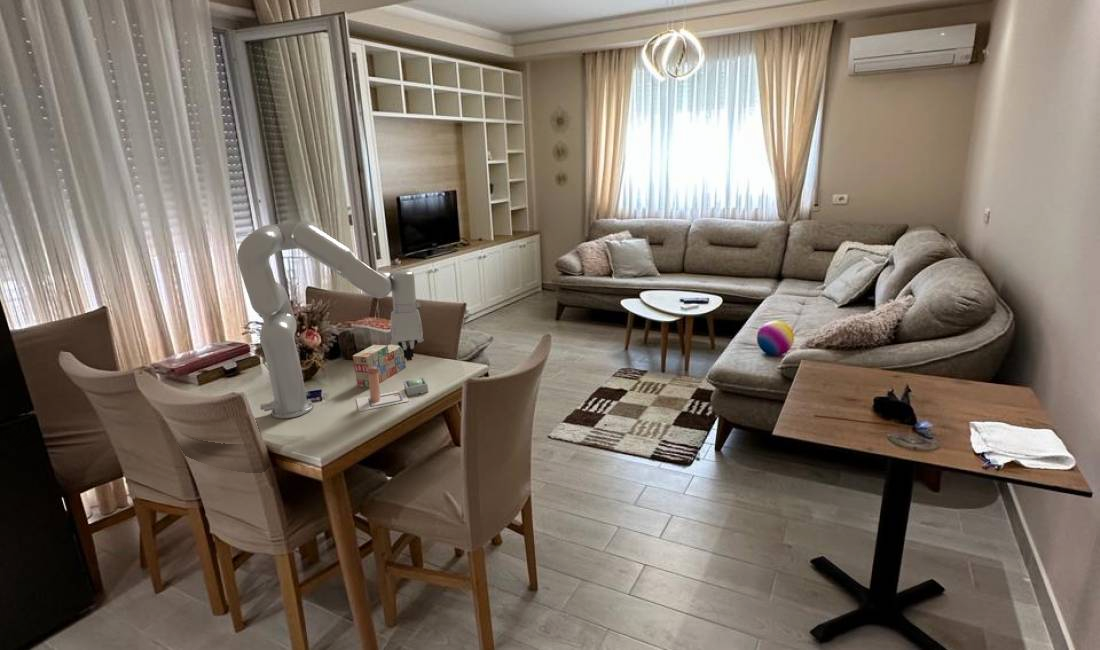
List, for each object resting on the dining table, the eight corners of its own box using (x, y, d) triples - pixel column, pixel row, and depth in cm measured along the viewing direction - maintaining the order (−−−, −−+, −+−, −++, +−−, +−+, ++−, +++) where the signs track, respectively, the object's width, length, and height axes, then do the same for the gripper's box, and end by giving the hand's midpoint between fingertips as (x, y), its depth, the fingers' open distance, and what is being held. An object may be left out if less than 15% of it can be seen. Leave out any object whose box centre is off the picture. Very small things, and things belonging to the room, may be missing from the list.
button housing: (407, 396, 196) (406, 387, 195) (404, 389, 202) (403, 381, 202) (428, 392, 199) (427, 384, 198) (424, 385, 205) (423, 377, 204)
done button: (410, 392, 197) (409, 384, 197) (408, 388, 202) (407, 380, 201) (424, 390, 199) (423, 382, 198) (421, 385, 203) (420, 377, 203)
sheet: (358, 411, 186) (358, 410, 186) (356, 399, 196) (356, 398, 196) (408, 401, 192) (408, 400, 191) (403, 390, 201) (403, 389, 201)
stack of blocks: (392, 366, 226) (388, 336, 223) (406, 367, 224) (402, 337, 220) (357, 387, 207) (352, 355, 204) (371, 388, 205) (366, 356, 201)
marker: (370, 402, 191) (367, 370, 188) (369, 399, 194) (366, 367, 191) (381, 401, 192) (378, 369, 189) (379, 397, 195) (377, 365, 192)
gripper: (425, 303, 198) (428, 353, 203) (380, 307, 193) (385, 359, 198) (429, 307, 191) (432, 360, 196) (383, 312, 186) (388, 365, 191)
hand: (408, 359), depth 197 cm, fingers closed
